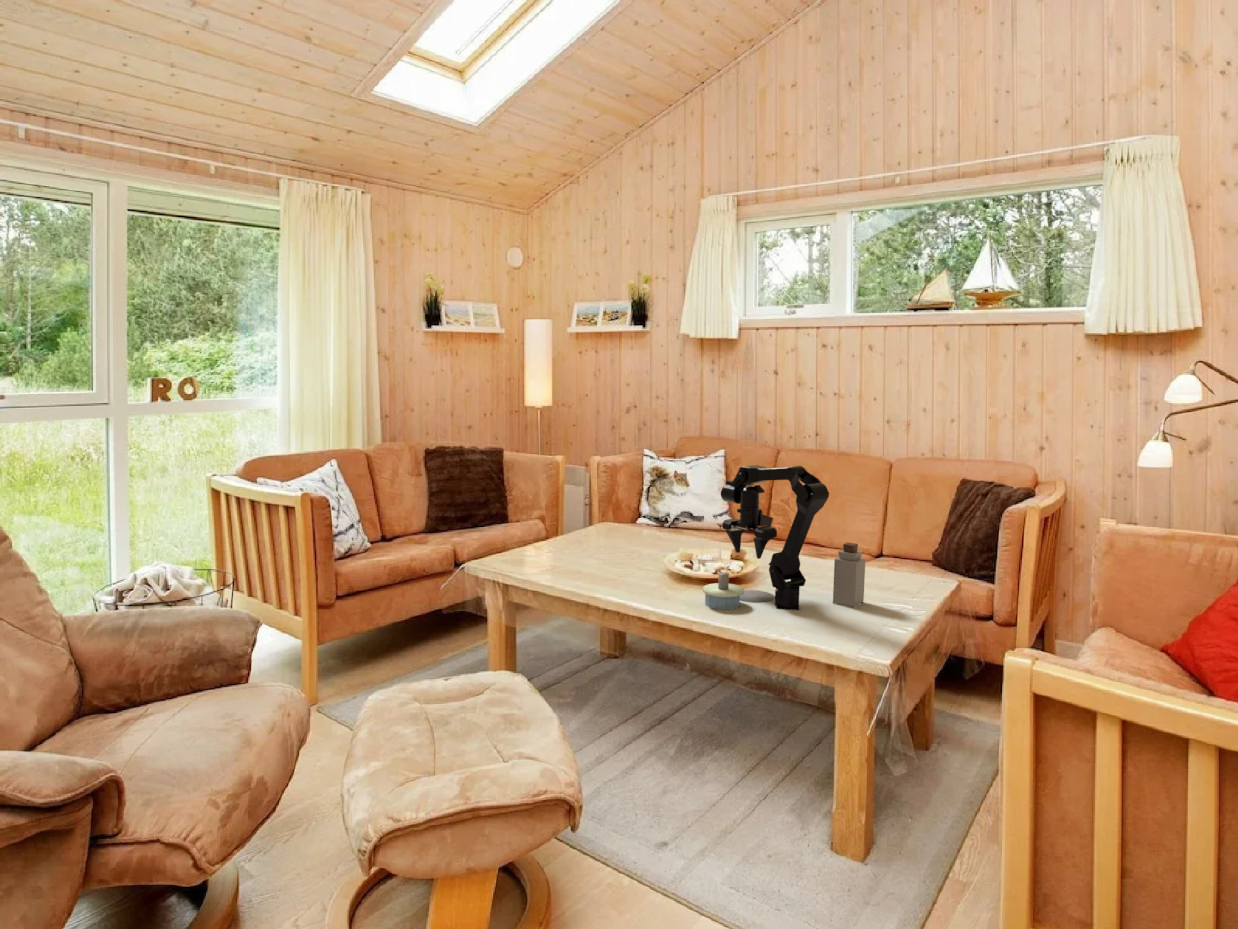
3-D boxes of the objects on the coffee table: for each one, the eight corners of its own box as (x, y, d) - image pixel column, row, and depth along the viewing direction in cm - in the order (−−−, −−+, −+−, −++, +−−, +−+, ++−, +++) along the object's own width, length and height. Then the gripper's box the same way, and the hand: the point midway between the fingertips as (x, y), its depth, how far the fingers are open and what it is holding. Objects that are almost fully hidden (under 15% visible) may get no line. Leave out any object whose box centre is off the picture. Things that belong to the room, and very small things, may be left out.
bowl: (739, 601, 232) (740, 587, 232) (739, 611, 222) (739, 597, 222) (706, 599, 234) (706, 585, 233) (704, 609, 224) (704, 595, 223)
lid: (744, 586, 232) (744, 569, 232) (743, 598, 220) (743, 580, 220) (704, 584, 234) (704, 567, 234) (701, 596, 223) (701, 578, 222)
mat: (774, 592, 241) (775, 591, 241) (775, 604, 229) (775, 603, 229) (733, 590, 244) (733, 589, 244) (731, 602, 231) (731, 601, 231)
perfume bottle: (842, 598, 236) (844, 540, 233) (863, 602, 231) (866, 543, 229) (832, 603, 231) (835, 544, 228) (854, 607, 226) (857, 547, 224)
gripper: (790, 508, 234) (788, 558, 236) (747, 499, 249) (746, 546, 251) (764, 511, 228) (762, 563, 229) (721, 502, 243) (720, 551, 245)
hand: (748, 555), depth 239 cm, fingers open, 9 cm apart
